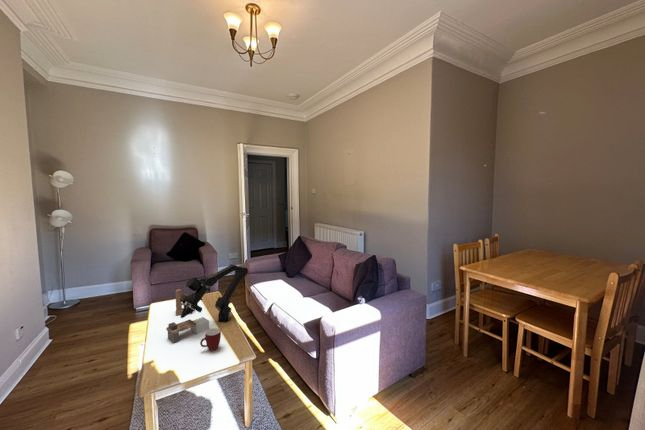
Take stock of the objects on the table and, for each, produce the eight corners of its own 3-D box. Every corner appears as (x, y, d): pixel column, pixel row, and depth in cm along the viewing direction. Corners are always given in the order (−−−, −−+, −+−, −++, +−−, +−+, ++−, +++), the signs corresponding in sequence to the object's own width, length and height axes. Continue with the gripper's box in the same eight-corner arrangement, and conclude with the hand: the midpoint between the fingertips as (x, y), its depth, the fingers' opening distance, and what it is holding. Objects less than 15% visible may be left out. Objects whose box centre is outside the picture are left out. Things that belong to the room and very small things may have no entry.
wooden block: (192, 313, 192) (191, 289, 191) (175, 315, 189) (174, 291, 187) (193, 311, 196) (192, 287, 194) (176, 313, 192) (175, 289, 191)
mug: (202, 356, 142) (202, 338, 142) (199, 349, 149) (198, 332, 148) (223, 349, 149) (222, 332, 148) (218, 343, 155) (218, 326, 154)
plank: (190, 321, 169) (189, 315, 169) (196, 325, 164) (196, 319, 164) (166, 330, 159) (166, 323, 158) (172, 334, 154) (172, 327, 153)
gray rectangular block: (203, 325, 176) (202, 316, 176) (209, 328, 171) (209, 320, 171) (167, 338, 160) (167, 329, 159) (173, 343, 155) (173, 334, 154)
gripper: (182, 284, 169) (164, 307, 162) (196, 291, 158) (177, 316, 150) (195, 293, 176) (178, 315, 169) (209, 300, 164) (192, 324, 157)
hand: (181, 317), depth 161 cm, fingers closed
